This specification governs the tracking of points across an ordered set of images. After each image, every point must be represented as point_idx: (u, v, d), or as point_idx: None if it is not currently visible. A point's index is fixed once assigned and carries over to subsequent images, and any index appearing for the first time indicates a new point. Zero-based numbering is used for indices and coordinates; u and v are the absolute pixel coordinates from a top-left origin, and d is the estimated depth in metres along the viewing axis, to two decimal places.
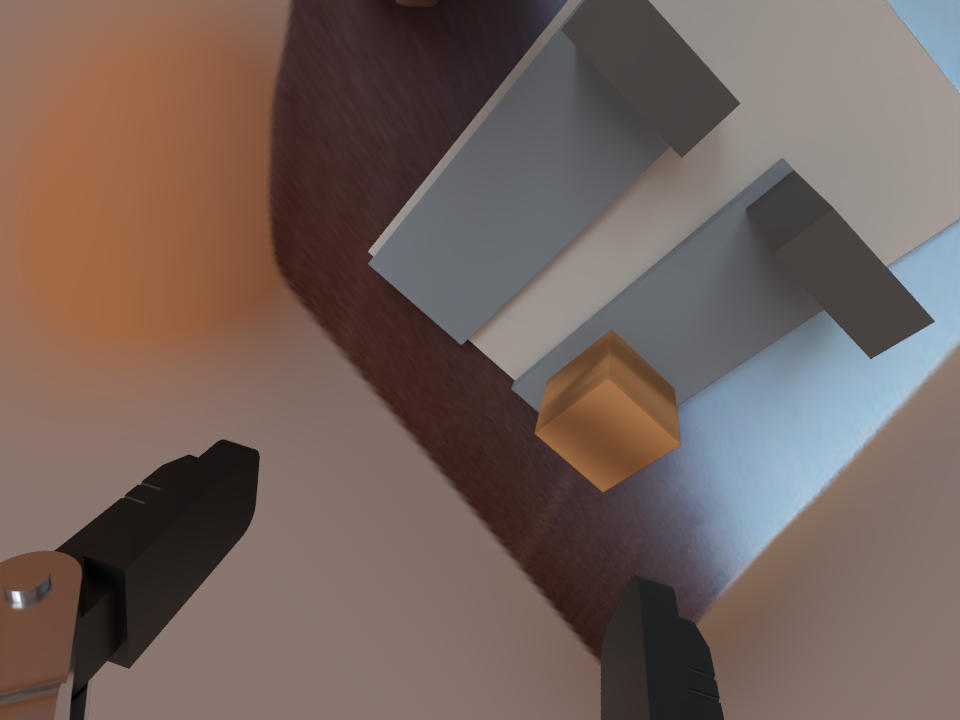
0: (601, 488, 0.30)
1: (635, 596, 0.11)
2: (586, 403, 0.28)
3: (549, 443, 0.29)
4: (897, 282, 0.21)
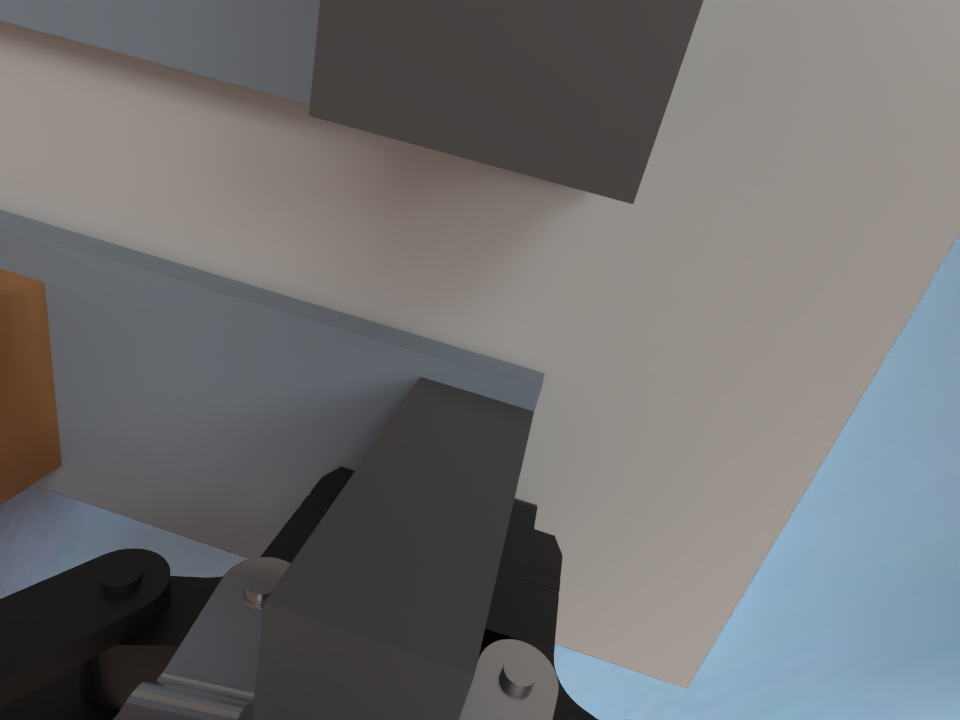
0: None
1: None
2: None
3: None
4: None
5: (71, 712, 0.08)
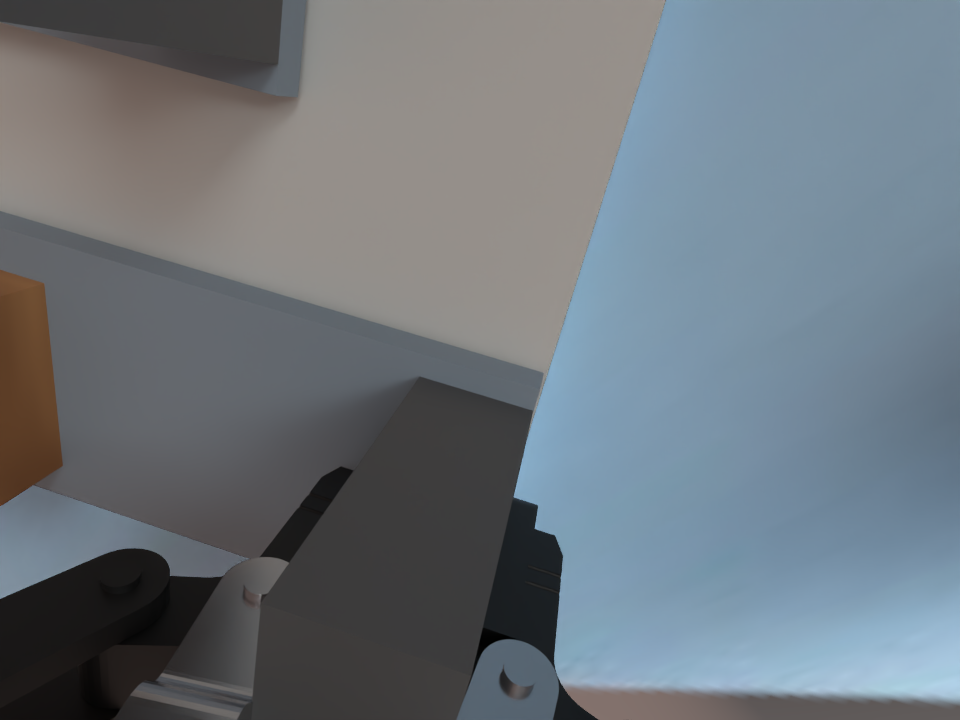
0: None
1: None
2: None
3: None
4: None
5: (71, 713, 0.08)
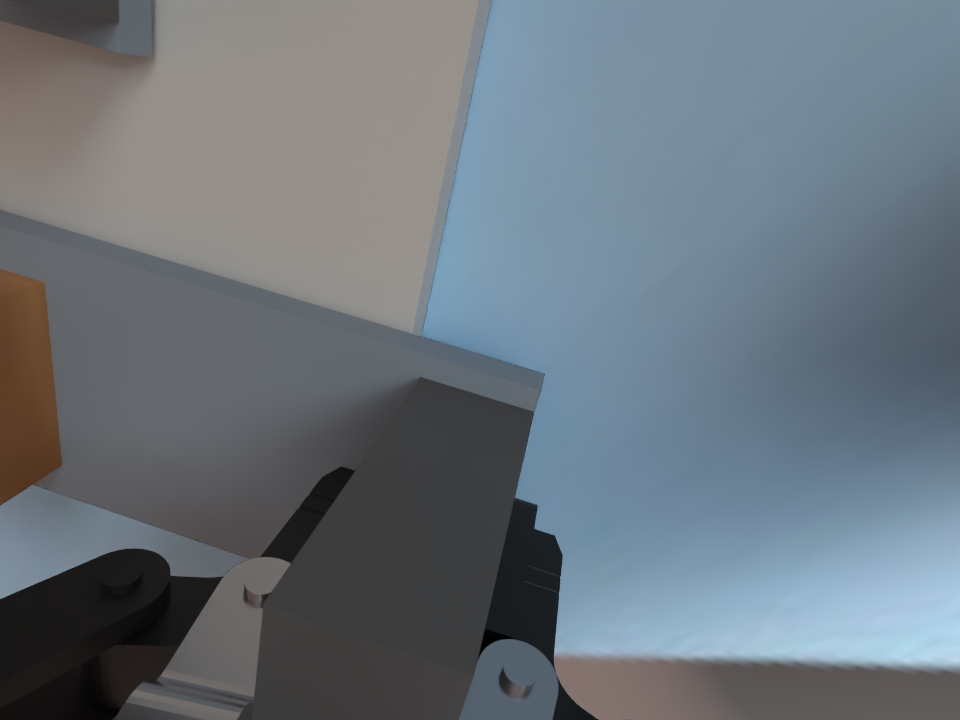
0: None
1: None
2: None
3: None
4: None
5: (71, 713, 0.08)
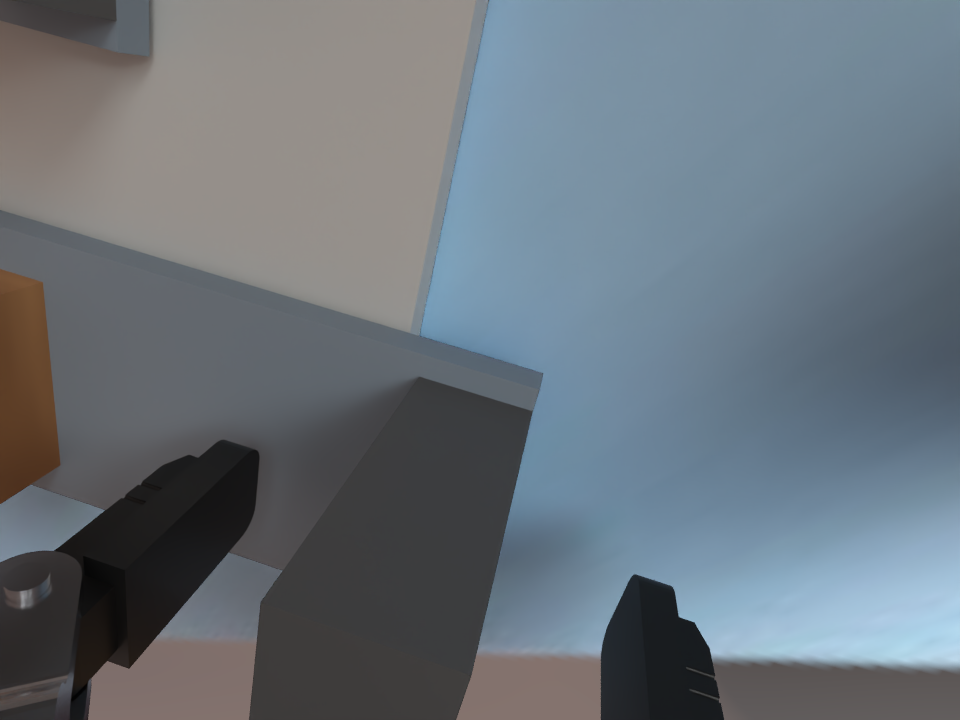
0: None
1: (635, 596, 0.11)
2: None
3: None
4: None
5: None
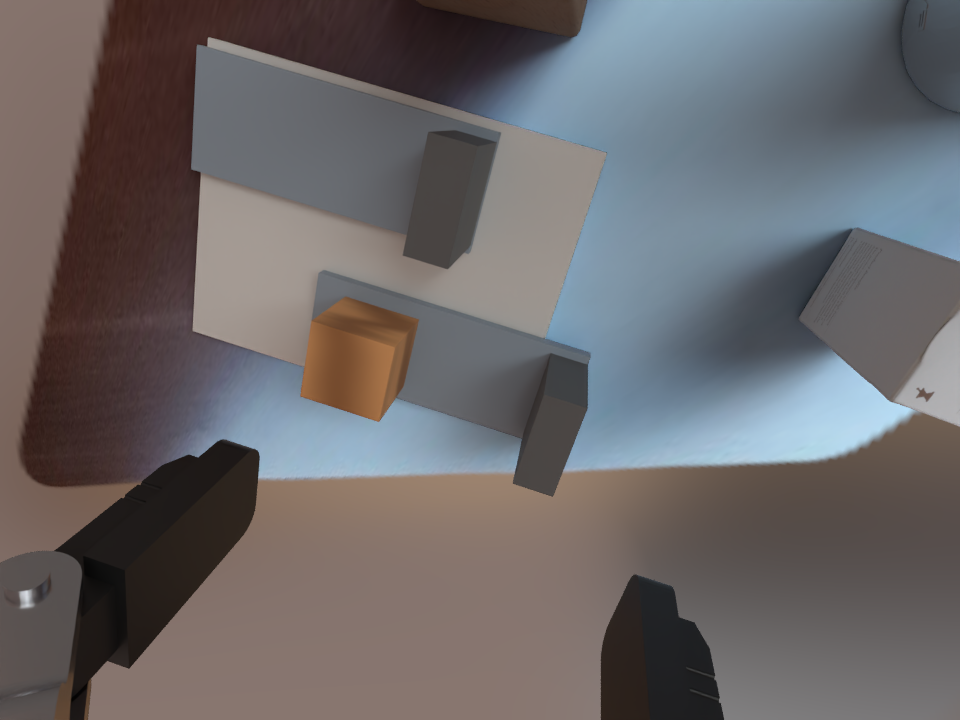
0: (302, 393, 0.34)
1: (635, 596, 0.11)
2: (364, 344, 0.32)
3: (311, 336, 0.33)
4: (563, 465, 0.32)
5: None
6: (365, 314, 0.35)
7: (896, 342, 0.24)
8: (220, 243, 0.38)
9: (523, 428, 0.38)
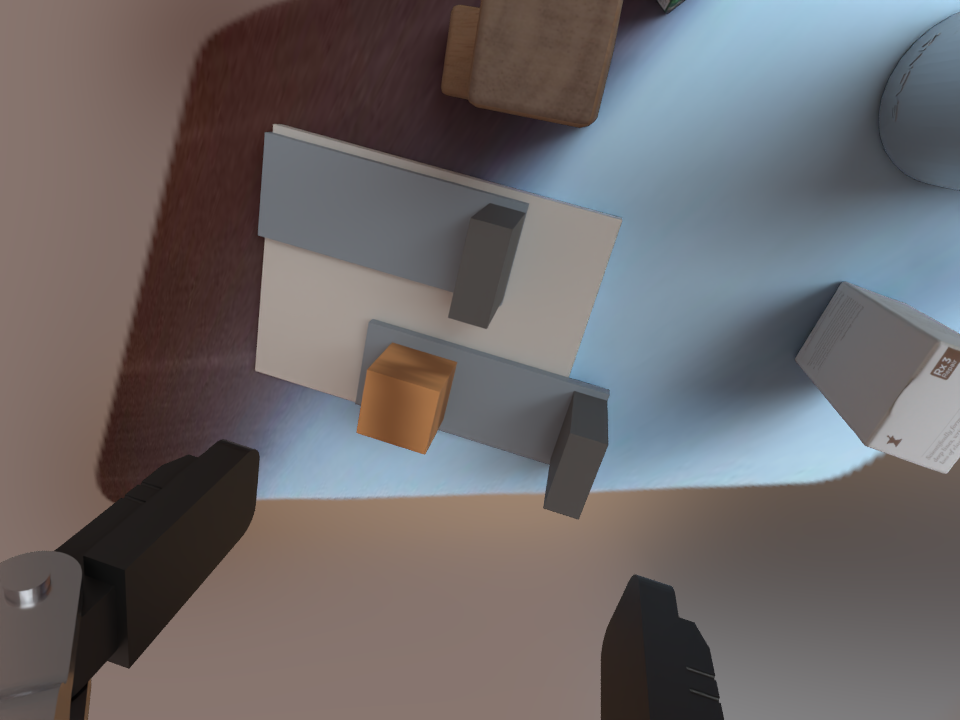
0: (358, 430, 0.39)
1: (635, 596, 0.11)
2: (413, 389, 0.37)
3: (366, 382, 0.38)
4: (588, 492, 0.37)
5: None
6: (411, 360, 0.40)
7: (872, 394, 0.29)
8: (281, 296, 0.43)
9: (550, 455, 0.43)
